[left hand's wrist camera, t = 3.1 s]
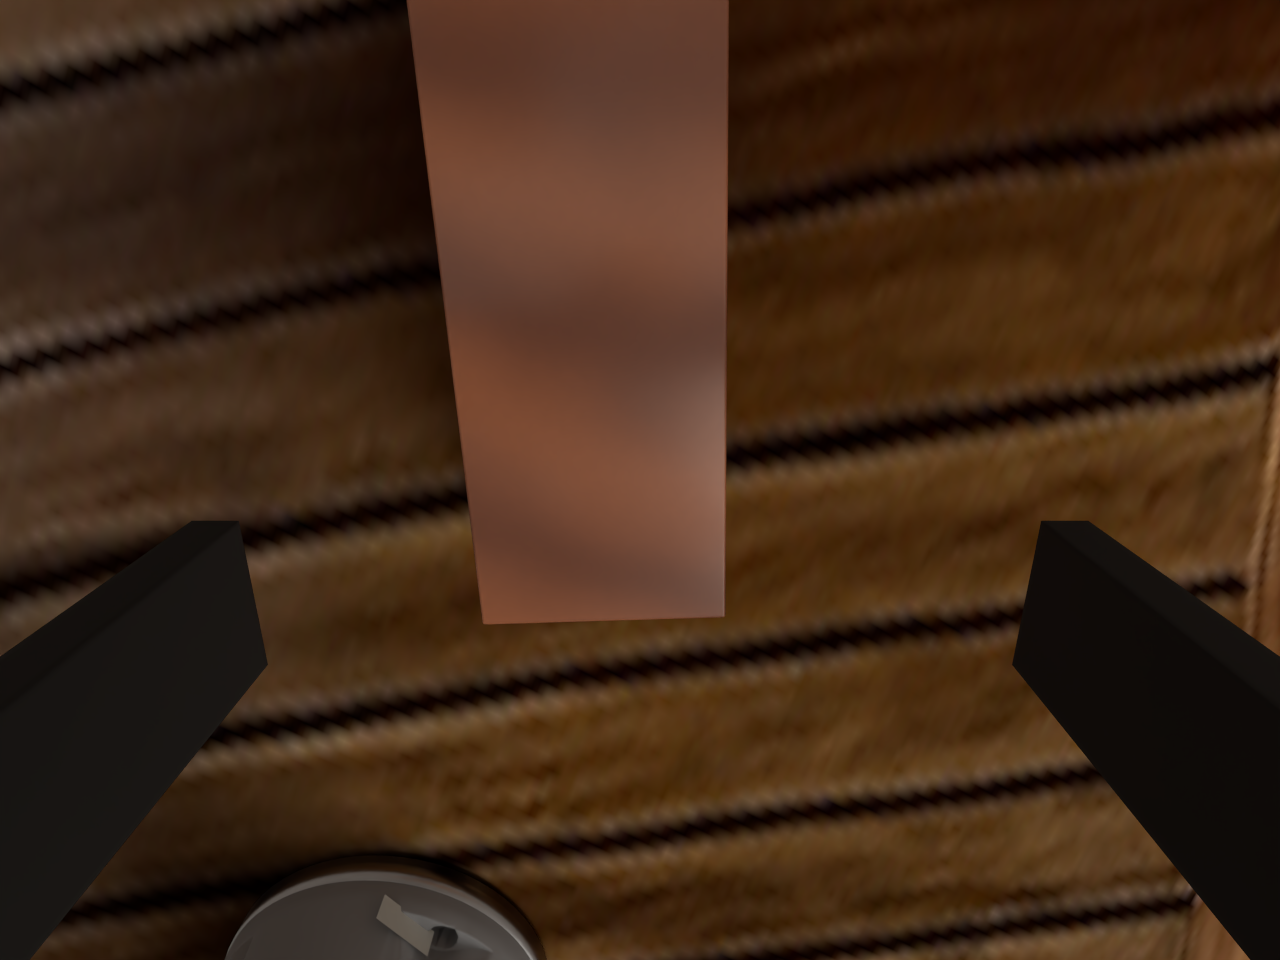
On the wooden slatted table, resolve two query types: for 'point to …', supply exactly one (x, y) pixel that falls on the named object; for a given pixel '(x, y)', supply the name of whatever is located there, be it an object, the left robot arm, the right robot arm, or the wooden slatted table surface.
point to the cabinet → (584, 295)
